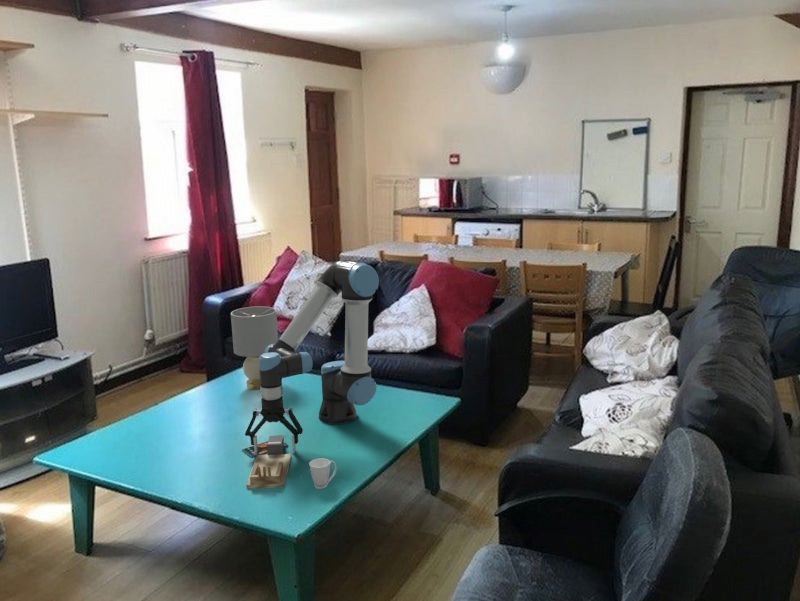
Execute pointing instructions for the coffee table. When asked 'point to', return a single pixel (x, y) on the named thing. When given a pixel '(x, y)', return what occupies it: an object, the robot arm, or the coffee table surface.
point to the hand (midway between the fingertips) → (275, 452)
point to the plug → (275, 445)
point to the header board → (269, 471)
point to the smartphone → (261, 449)
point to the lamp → (253, 338)
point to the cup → (321, 472)
